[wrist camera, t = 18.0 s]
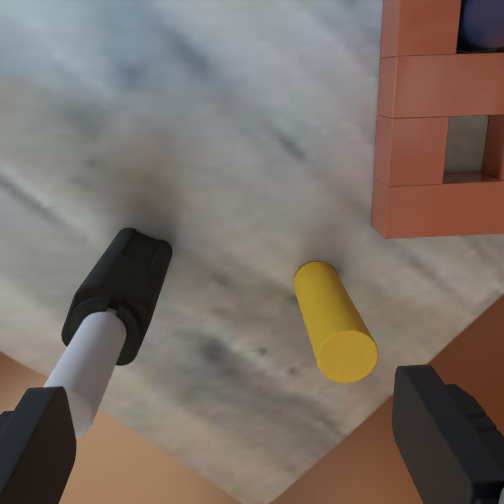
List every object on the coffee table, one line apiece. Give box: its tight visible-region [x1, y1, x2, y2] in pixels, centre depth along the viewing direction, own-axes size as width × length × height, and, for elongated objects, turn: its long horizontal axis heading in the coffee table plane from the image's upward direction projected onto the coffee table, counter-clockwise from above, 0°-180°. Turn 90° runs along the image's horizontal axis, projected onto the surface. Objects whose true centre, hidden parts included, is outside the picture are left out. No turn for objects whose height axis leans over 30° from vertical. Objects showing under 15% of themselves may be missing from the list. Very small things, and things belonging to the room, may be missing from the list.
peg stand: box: [371, 0, 504, 239], centre depth 38 cm, size 24×14×4 cm, turn 2°
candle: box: [44, 228, 172, 439], centre depth 32 cm, size 5×5×25 cm
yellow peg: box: [293, 262, 378, 383], centre depth 39 cm, size 4×4×13 cm
